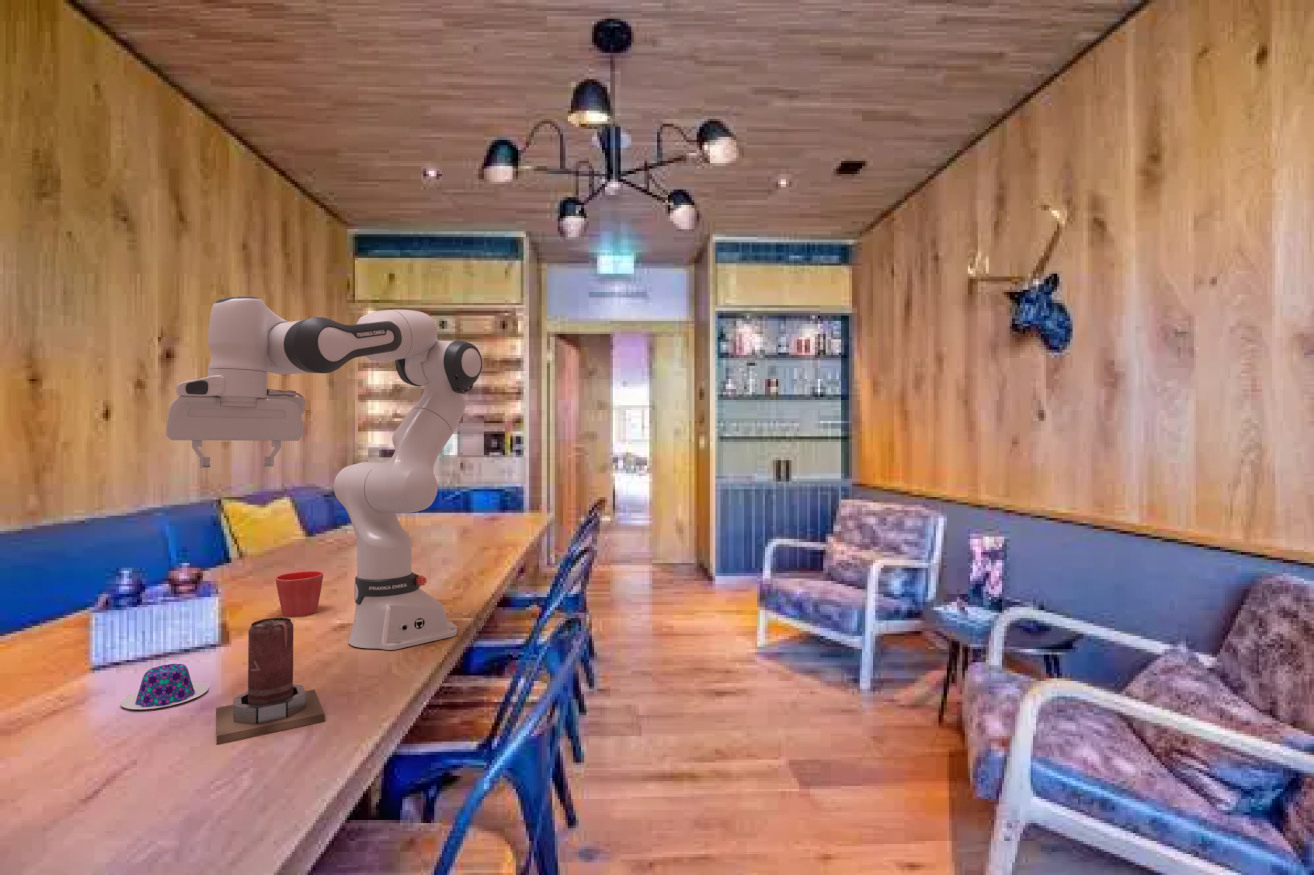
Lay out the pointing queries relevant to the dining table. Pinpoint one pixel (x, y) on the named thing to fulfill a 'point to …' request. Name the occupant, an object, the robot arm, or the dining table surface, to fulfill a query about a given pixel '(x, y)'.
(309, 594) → the flower pot
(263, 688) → the can
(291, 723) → the holder board
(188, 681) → the patterned hat
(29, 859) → the dining table surface
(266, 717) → the ring
